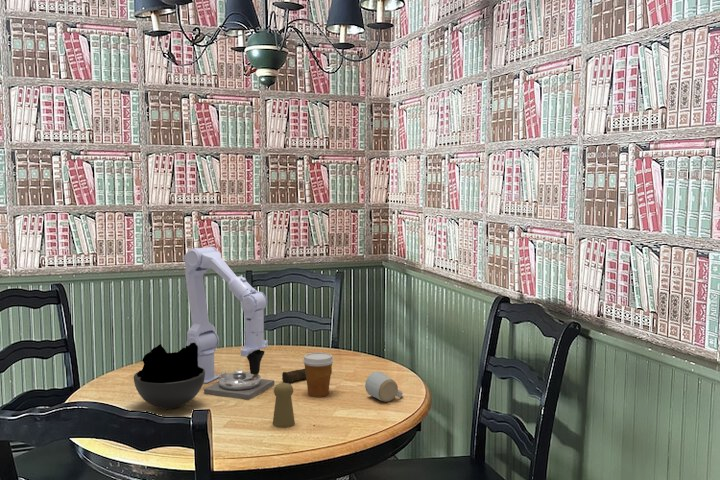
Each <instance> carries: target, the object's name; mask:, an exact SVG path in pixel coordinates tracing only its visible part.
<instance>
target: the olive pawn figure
mask: <svg viewBox="0 0 720 480" xmlns="http://www.w3.org/2000/svg"><path fill="white" fill-rule="evenodd" d="M273 387H274V388H273V393H274V396H275V402H274V410H273V419H272V426H273V427H276V428H279V429H281V428H284V429H286V428H290V427H292V426H295V424H296V422H295V421H296V420H295V413H294V407H293V401H292V400H293V399H292V395H293V394H294V387H293V386H292V383H284V382H282V383H277V384H275V385H274V386H273Z"/></svg>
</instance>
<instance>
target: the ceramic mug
mask: <svg viewBox="0 0 720 480" xmlns="http://www.w3.org/2000/svg"><path fill="white" fill-rule="evenodd" d="M364 386H365V387H364V388H365V391H366V393H367V394H368V396H369V395H370V397H373V398H375V399H377V400H378V401H381V402H385V403H388V402H391V401H392V400H394V399H395V398H396V397H398V398H402V396H403V392H402V391H401V390H399V387H398V386H399V385H398V383H397V382H396V381H395V380H394V379H393V378H392V377H390V376H388V375H386V374H385V373H384V372H381V371H374V372H371V373H370V374H369V375H368V376H367V378H366V380H365V384H364Z"/></svg>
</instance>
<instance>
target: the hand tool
mask: <svg viewBox="0 0 720 480" xmlns="http://www.w3.org/2000/svg"><path fill="white" fill-rule="evenodd" d="M332 372H333V369H332V368H331V374H332ZM281 375H282V378H281V379H282V383H288V384H292V383H293V382H296V381H300V380H304V379H306V372H305V368H302V369H296V370H290V371H283V372H282V373H281Z"/></svg>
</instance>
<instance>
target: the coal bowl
mask: <svg viewBox="0 0 720 480" xmlns="http://www.w3.org/2000/svg"><path fill="white" fill-rule="evenodd" d="M141 361H142V363H143V367H142V368H141V370H138V371H137V372H136V373H134V376H133V383H134V386H135V387H134V388H135V389H136V391H137V392H138V394H139V396H140V397H141V398H142V399H143V400H144V401H145V402H146V403H148V405H151V406H153V407H155V408H158V409H164V410H165V409H166V410H167V409H168V410H169V409H176V408H179V407H182V406H184V405H186V404H188V403H189V402H191V401H192V400H193V399H194V398H195V397H196V396H197V395H198V394H199V393H200V392H201V389H202V387H203V384H204V383H203V382H204V379H205V370H204V369H203V368H201V367H198V346H197V345H196V343H190V345H189V346H187V345H186V346H185V347H182V348H181V349H179V351H177V352H167V350H166V349H165V348H164V347H163V345H162V344H161V343H160V344H158V345H157V346H155V347H153V348H152V349H150V352H148V353H146V354H144V355H143V357H142V360H141Z"/></svg>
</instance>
